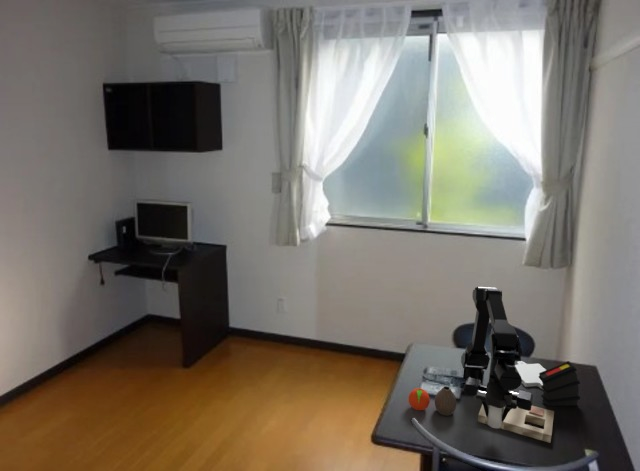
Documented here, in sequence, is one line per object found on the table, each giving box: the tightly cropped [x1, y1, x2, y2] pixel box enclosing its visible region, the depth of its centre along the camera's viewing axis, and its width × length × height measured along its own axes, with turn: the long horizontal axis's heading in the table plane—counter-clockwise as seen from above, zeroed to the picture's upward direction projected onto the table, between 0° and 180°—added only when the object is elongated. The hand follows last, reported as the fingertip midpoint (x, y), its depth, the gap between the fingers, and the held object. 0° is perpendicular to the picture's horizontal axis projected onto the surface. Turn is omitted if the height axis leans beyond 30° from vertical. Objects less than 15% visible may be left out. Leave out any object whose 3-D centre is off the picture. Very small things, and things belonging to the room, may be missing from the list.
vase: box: [434, 385, 457, 416], centre depth 156 cm, size 7×7×9 cm
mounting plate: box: [515, 360, 547, 390], centre depth 179 cm, size 18×13×2 cm
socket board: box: [477, 403, 555, 444], centre depth 153 cm, size 21×14×3 cm, turn 62°
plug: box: [486, 405, 505, 429], centre depth 142 cm, size 5×5×8 cm
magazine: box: [539, 360, 581, 407], centre depth 161 cm, size 4×13×15 cm, turn 92°
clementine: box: [408, 387, 431, 411], centre depth 157 cm, size 8×7×7 cm
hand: (494, 418), depth 142 cm, fingers closed on plug, 4 cm apart
